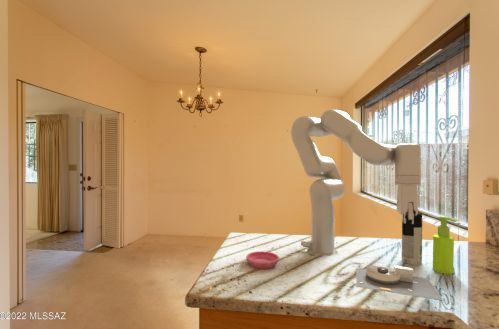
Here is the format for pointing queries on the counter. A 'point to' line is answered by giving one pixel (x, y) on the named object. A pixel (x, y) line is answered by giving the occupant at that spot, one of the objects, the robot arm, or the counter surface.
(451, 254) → the soap dispenser
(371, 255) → the counter surface
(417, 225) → the spray can
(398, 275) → the dial
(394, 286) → the board
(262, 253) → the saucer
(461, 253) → the counter surface
